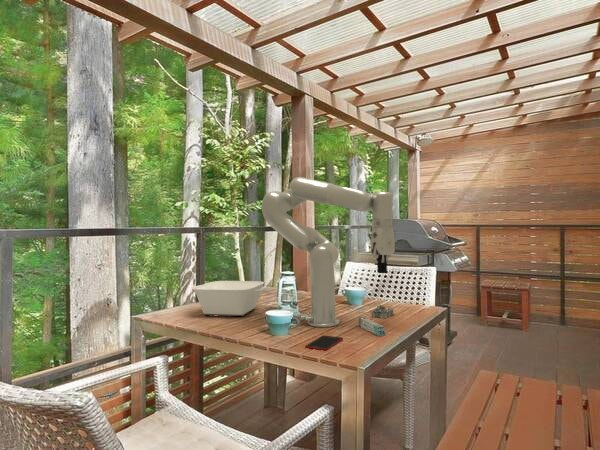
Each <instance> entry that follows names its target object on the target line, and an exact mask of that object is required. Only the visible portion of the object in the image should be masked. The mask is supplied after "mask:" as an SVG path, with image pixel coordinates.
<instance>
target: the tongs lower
mask: <svg viewBox="0 0 600 450" xmlns="http://www.w3.org/2000/svg"><path fill="white" fill-rule="evenodd" d="M362 319H367V318H366V317H365V316H359V317H358V327H359V328H362V329H364V330H366V331H368V332H370V333H372V334H374V335H375V336H377V337H383V336H384V337H385V336H386V331H385V330H384V331H376V330H374V329H373V328H371V327H369V326H367V325H365V324H363V323H362Z"/></svg>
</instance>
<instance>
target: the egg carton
mask: <svg viewBox="0 0 600 450" xmlns="http://www.w3.org/2000/svg"><path fill="white" fill-rule="evenodd" d="M370 313H371V317H372V318H373V319H375V318H379V319H381V320H382V319H388V318H389V317H391V316H394V314H395V313H394V308H390V307H388V308H387V309H386V306H384V305H382V304H378V305H377V306H376V307H375V308H374V309H372V310H370Z"/></svg>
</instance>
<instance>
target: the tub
mask: <svg viewBox="0 0 600 450" xmlns="http://www.w3.org/2000/svg"><path fill="white" fill-rule="evenodd" d="M264 284H265V282H264V281H260V280H215V281H210V282H207V283H204V284H199V285H195V286H193V288H192V291H194V293H195V295H196V298H197V299H198V303H199V305H200V308H201V311H202V314H203V315H204V316H205V315H218V316H242V317H243V316H245V314H246V315H247V314H249V313H251V312H253V311H254V310H255V309H256V308H257V305H258V302H259V299H260V295H261V293H262V292H265V291H267V290H268V286H267V285H265V286H264ZM250 311H251V312H250Z"/></svg>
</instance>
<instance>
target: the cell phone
mask: <svg viewBox="0 0 600 450" xmlns="http://www.w3.org/2000/svg"><path fill="white" fill-rule="evenodd" d="M343 340H344V338H343V337H340V336H334V335H333V336H331V335H321V336H319V337H318V338H316V339H314V340H312V341H311V342H310V343H308V344H306V345H305V347H304V348H305V349H306V348H309V349H308V350H313V349H315V350H314V351H321V350H323V351H322V352H327V351H329V350H330V349H332V348H333V347H335V346H336V345H338V344H339V343H341V342H343Z"/></svg>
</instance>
